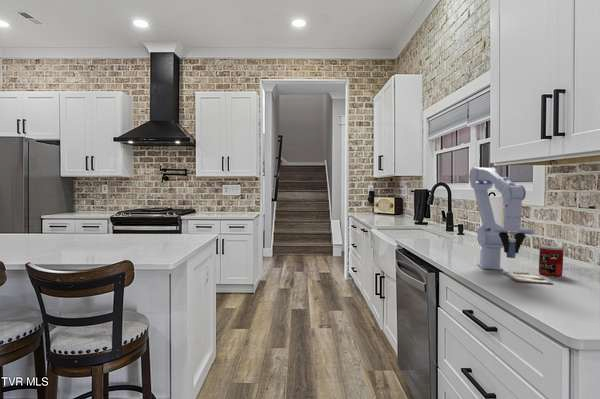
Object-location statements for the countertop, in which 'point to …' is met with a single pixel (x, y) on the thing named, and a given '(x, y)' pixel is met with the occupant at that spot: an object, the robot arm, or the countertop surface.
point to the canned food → (551, 260)
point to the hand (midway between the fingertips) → (511, 252)
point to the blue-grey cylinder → (511, 248)
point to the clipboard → (527, 278)
